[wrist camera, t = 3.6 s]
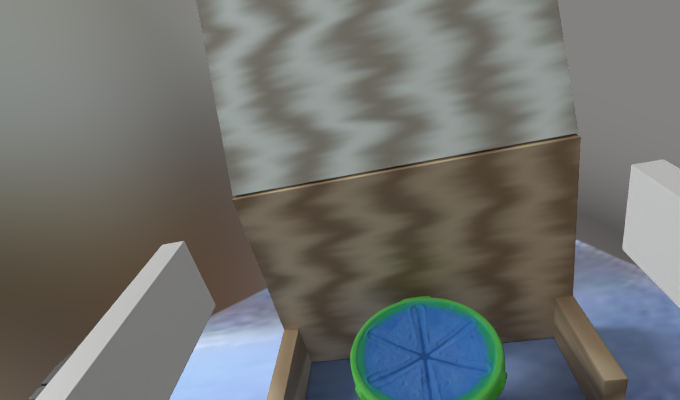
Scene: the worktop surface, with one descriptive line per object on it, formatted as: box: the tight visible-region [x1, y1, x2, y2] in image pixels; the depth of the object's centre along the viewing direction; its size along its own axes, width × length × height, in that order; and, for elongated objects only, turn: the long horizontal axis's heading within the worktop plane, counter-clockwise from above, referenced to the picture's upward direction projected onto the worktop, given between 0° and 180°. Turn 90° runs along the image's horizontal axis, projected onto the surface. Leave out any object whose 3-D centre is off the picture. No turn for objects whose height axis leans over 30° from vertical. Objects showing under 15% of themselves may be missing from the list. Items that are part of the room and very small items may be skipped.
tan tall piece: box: [196, 0, 628, 400], centre depth 31 cm, size 27×20×42 cm
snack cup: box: [350, 296, 507, 400], centre depth 30 cm, size 16×10×10 cm
